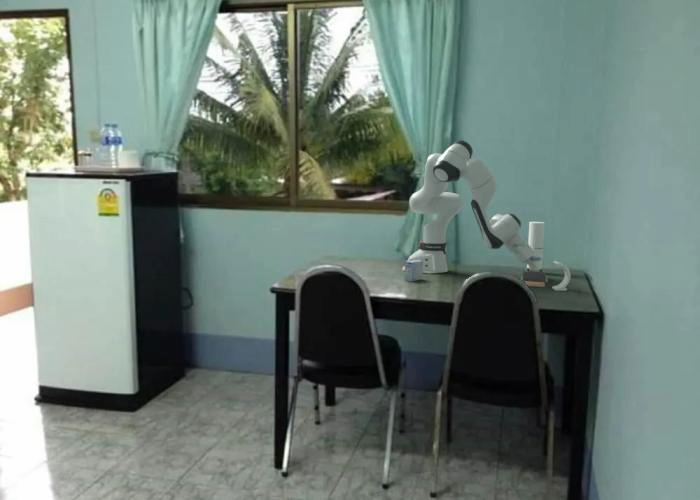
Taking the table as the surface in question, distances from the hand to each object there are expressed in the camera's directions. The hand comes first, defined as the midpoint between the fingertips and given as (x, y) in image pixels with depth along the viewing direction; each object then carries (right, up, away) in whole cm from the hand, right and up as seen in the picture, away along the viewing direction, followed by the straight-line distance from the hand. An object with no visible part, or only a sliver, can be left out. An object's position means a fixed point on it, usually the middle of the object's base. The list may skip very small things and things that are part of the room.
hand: (536, 266), depth 285 cm
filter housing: (-1, -6, +1) cm, 6 cm away
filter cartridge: (-1, -6, +1) cm, 6 cm away
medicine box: (-57, -6, -3) cm, 57 cm away
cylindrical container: (+5, -4, +19) cm, 20 cm away
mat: (-4, -8, -10) cm, 13 cm away
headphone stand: (+5, -10, -20) cm, 22 cm away
